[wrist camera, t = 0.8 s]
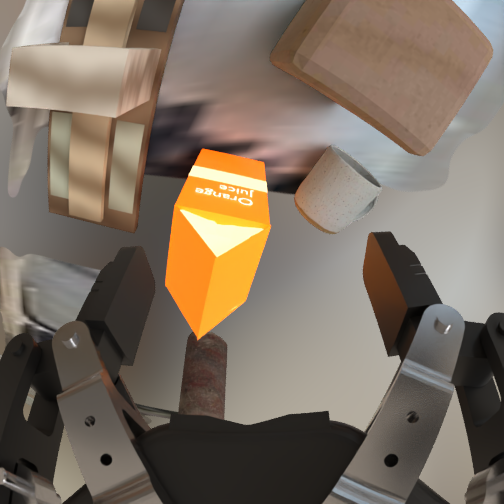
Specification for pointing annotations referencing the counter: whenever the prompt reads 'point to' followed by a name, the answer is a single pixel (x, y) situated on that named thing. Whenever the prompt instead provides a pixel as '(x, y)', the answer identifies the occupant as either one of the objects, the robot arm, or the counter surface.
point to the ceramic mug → (336, 192)
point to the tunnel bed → (98, 99)
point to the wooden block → (388, 62)
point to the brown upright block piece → (204, 376)
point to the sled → (95, 116)
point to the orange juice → (217, 237)
